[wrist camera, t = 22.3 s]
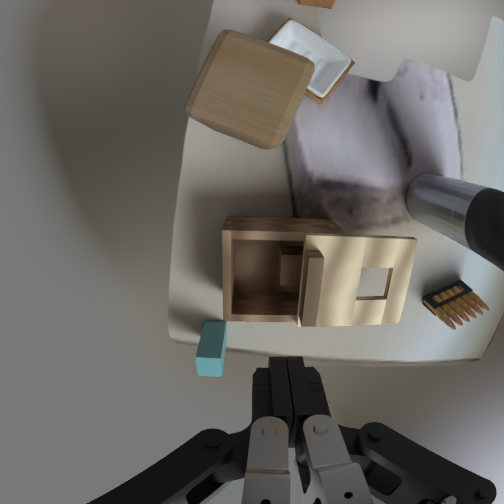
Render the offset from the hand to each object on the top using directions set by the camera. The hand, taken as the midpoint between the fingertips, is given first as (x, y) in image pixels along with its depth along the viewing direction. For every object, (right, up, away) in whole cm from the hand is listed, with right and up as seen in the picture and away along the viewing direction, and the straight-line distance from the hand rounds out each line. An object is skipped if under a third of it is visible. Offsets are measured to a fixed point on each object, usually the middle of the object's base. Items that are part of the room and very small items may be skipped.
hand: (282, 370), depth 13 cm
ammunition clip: (+39, -3, +40) cm, 56 cm away
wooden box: (+3, +4, +38) cm, 38 cm away
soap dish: (+6, +35, +27) cm, 45 cm away
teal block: (-8, -9, +42) cm, 44 cm away
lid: (+14, +1, +29) cm, 32 cm away
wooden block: (-2, +27, +30) cm, 41 cm away
